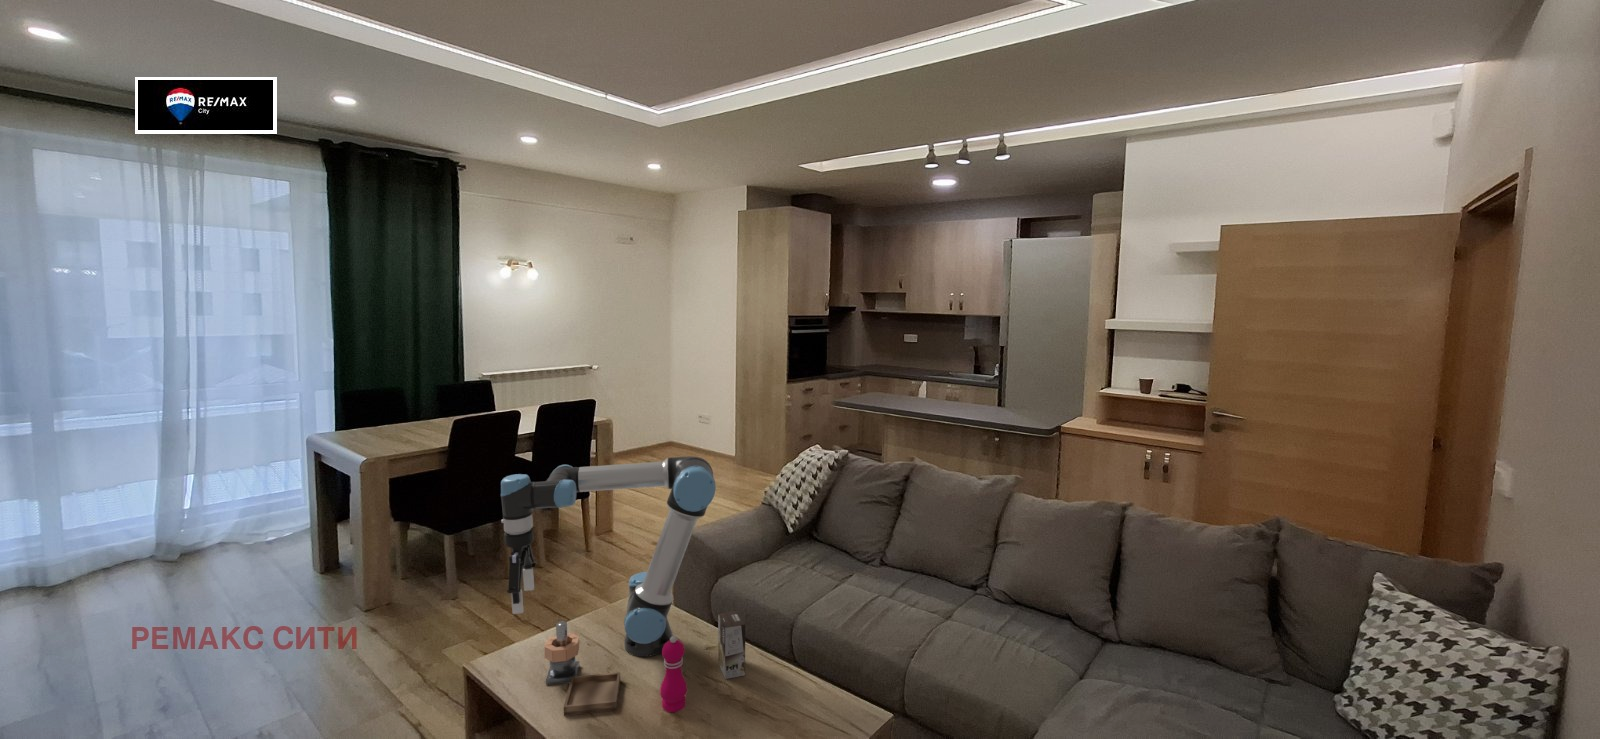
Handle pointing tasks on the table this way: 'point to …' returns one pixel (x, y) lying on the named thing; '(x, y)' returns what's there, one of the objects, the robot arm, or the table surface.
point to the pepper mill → (673, 676)
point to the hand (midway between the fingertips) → (523, 601)
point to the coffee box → (731, 644)
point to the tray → (592, 694)
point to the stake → (563, 669)
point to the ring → (562, 648)
